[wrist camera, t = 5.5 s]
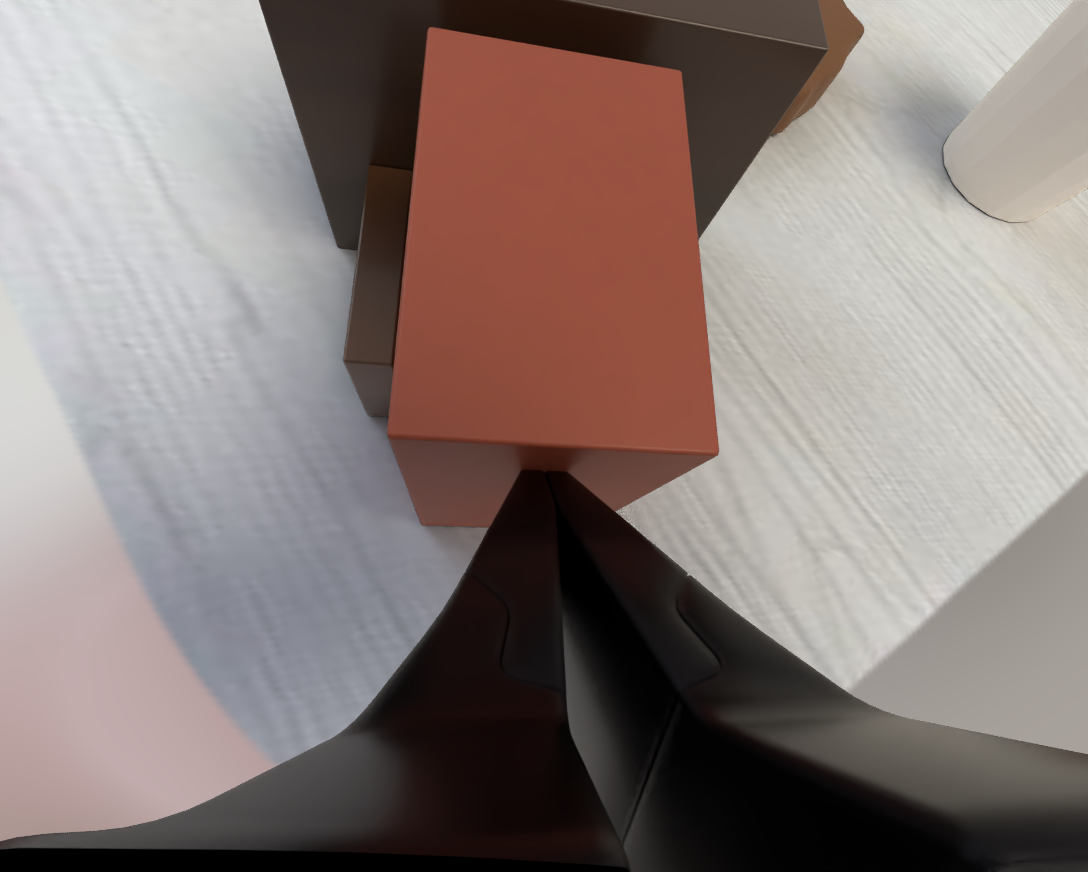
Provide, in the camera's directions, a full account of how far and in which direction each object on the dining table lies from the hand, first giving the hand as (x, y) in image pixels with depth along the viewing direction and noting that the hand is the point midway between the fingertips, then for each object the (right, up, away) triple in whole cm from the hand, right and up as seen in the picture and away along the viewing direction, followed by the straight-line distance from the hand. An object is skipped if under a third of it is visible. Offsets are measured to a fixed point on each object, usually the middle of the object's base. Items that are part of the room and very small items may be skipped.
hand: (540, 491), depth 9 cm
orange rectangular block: (-1, +2, +8) cm, 8 cm away
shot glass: (+22, +13, +16) cm, 30 cm away
